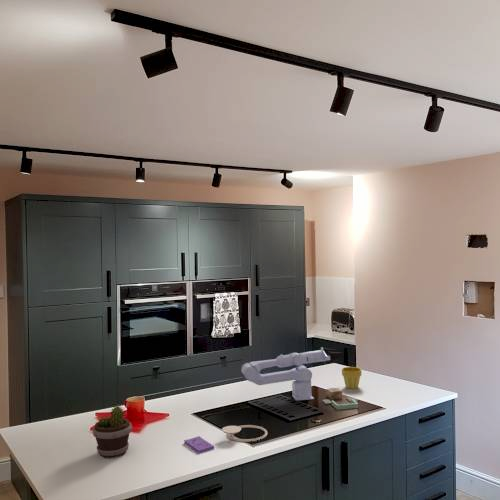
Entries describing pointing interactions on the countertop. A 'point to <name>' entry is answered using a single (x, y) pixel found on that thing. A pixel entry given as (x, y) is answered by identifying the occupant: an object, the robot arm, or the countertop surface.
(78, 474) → the countertop surface
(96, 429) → the flowerpot
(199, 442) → the sponges
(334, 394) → the walnut block
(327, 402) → the green u-shaped piece
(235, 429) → the hand towel holder
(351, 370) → the plant pot
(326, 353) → the robot arm
